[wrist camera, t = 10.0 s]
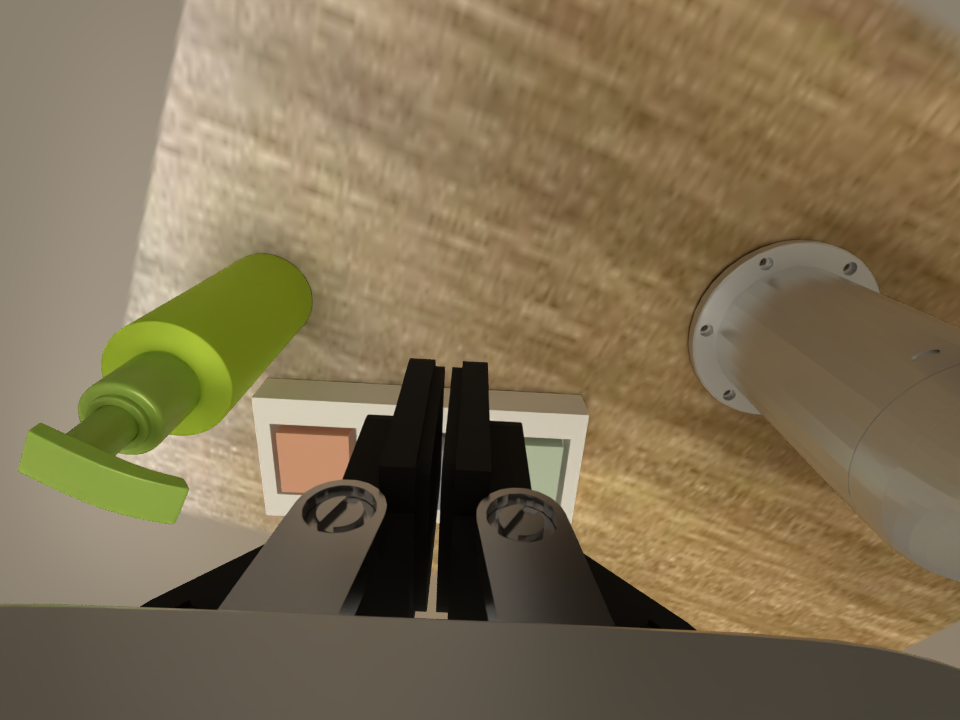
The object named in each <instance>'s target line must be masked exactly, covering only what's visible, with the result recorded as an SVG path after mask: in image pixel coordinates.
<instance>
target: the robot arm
mask: <svg viewBox="0 0 960 720" xmlns="http://www.w3.org/2000/svg"><path fill="white" fill-rule="evenodd" d="M762 259H763V261H762V263H760V261H761V260H762ZM759 263H760V264H759ZM704 325H705V327H704V328H703V329H701V328H702V327H703V326H704ZM688 347H689V355H690V361H691V364H692V366H693V369H694V372H695V374H696V376H697V377H698V379H699V380H700V382H701V383H702V385H703V386H704V387H705V388H706V389H707V390H708V392H709V393H710V394H711V395H712V396H713V397H714V398H716V399H717V400H718V401H719V402H721V403H722V404H724V405H726V406H728V407H730V408H732V409H735V410H737V411H740V412H745V413H749V414H754V415H762V416H763V417H764V418H765V419H766V420H767V421H768V422H769V423H770V424H771V425H772V426H773V427H774V428H775V429H776V430H777V431H778V432H779V433H780V434H781V435H782V436H783V437H784V438H785V439H786V440H787V442H788V443H789V444H790V445H791V446H792V447H793V448H794V449H795V450H796V451H797V452H798V453H799V454H800V455H801V456H802V457H803V458H804V459H805V460H806V461H807V462H808V463H809V464H810V465H811V467H812V468H813V469H814V470H815V471H816V472H817V473H818V474H819V475H820V476H821V477H822V478H823V479H824V480H825V481H826V482H827V483H828V484H829V485H830V486H831V487H832V488H833V489H834V490H835V491H836V493H837V494H838V495H839V496H840V497H841V498H842V499H843V500H844V501H845V502H846V503H847V504H848V505H849V506H850V507H851V508H852V509H853V510H854V511H855V512H856V513H857V514H858V515H859V516H860V517H861V519H862V520H863V521H864V522H866V523H867V524H868V525H869V526H870V527H871V528H872V529H873V530H874V531H875V532H876V533H877V535H878V536H879V537H880V538H881V539H882V540H884V541H885V542H886V543H887V544H888V545H889V546H890V547H891V548H893V549H894V550H895V551H896V552H898V553H899V554H901V555H902V556H904V557H905V558H906V559H908V560H909V561H911V562H913V563H915V564H916V565H918V566H920V567H922V568H924V569H926V570H928V571H930V572H932V573H935V574H937V575H940V576H943V577H946V578H949V579H952V580H955V581H958V582H960V328H959V327H956V326H954V325H952V324H949V323H947V322H945V321H942V320H940V319H938V318H936V317H933V316H931V315H929V314H926V313H924V312H922V311H919V310H917V309H915V308H912V307H910V306H908V305H905V304H903V303H901V302H898V301H896V300H894V299H891V298H889V297H887V296H885V295H882V294H880V289H879V286H878V284H877V282H876V280H875V277H874V275H873V273H872V272H871V271H870V270H869V268H868V267H867V266H866V265H865V264H864V263H863V261H862V260H860V259H859V258H857V257H856V256H855V255H853V254H852V253H850V252H849V251H847V250H844V249H842V248H839V247H837V246H834V245H831V244H828V243H824V242H820V241H816V240H800V239H798V240H790V241H783V242H778V243H774V244H771V245H768V246H765V247H762V248H759V249H757V250H755V251H753V252H751V253H749V254H747V255H745V256H743V257H742V258H741V259H739V260H738V261H736V262H735V263H734V264H732V265H731V266H729V267H728V268H727V269H726V270H725V271H724V272H723V273H722V274H721V275H720V276H719V277H718V278H717V279H716V280H715V281H714V282H713V283H712V284H711V286H710V287H709V288H708V290H707V291H706V292H705V294H704V295H703V297H702V298H701V300H700V302H699V304H698V306H697V308H696V310H695V313H694V316H693V319H692V323H691V326H690V330H689V342H688ZM444 379H445V367H439V366H436V362H435V360H431V359H413V358H410V360H409V363H408V367H407V370H406V373H405V377H404V380H403V384H402V387H401V391H400V394H399V397H398V401H397V404H396V408H395V411H394V415H393V416H391V415H372V414H369V415H367V416H366V418H365V421H364V424H363V426H362V429H361V431H360V434H359V437H358V439H357V442H356V445H355V447H354V450H353V452H352V455H351V458H350V460H349V463H348V466H347V468H346V471H345V473H344V476H343V479H342V480H336V481H329V482H326V483H323V484H320V485H317V486H315V487H313V488H311V489H310V490H308V491H306V492H305V493H304V494H303V495H302V496H301V497H300V498H299V499H298V500H297V501H296V502H295V503H294V505H293V506H292V507H291V509H290V510H289V511H288V513H287V514H286V516H285V517H284V518H283V520H282V521H281V522H280V524H279V525H278V527H277V528H276V529H275V531H274V532H273V534H272V535H271V536H270V538H269V539H268V540H267V542H266V543H265V544H264V545H262V546H260V547H258V548H256V549H254V550H252V551H250V552H248V553H246V554H244V555H242V556H240V557H238V558H236V559H234V560H232V561H230V562H228V563H225V564H224V565H221V566H219V567H218V568H215V569H213V570H211V571H209V572H207V573H205V574H203V575H201V576H199V577H197V578H195V579H193V580H191V581H189V582H187V583H185V584H183V585H181V586H179V587H177V588H175V589H173V590H170V591H168V592H166V593H165V594H162V595H160V596H158V597H156V598H154V599H152V600H150V601H149V602H147V603H145V604H144V605H142V606H140V607H123V606H96V605H95V606H94V605H68V604H0V720H960V669H959V668H956V667H953V666H951V665H947V664H944V663H942V662H939V661H936V660H932V659H929V658H924V657H920V656H916V655H912V654H908V653H904V652H900V651H896V650H891V649H887V648H883V647H878V646H871V645H865V644H858V643H852V642H845V641H839V640H829V639H816V638H804V637H791V636H779V635H766V634H754V633H736V632H715V631H697V630H696V629H694V628H693V627H692V626H691V625H690V624H688V623H687V622H686V621H684V620H683V619H681V618H680V617H678V616H677V615H675V614H674V613H672V612H671V611H669V610H668V609H666V608H665V607H663V606H662V605H660V604H659V603H657V602H656V601H654V600H653V599H651V598H650V597H648V596H647V595H645V594H644V593H642V592H641V591H639V590H638V589H636V588H635V587H633V586H632V585H630V584H629V583H627V582H626V581H624V580H623V579H621V578H620V577H618V576H617V575H615V574H614V573H612V572H611V571H609V570H608V569H606V568H605V567H603V566H602V565H600V564H599V563H597V562H596V561H594V560H593V559H591V558H590V557H588V556H587V555H585V554H584V553H583V551H582V549H581V547H580V544H579V542H578V540H577V538H576V535H575V533H574V531H573V529H572V526H571V524H570V522H569V519H568V517H567V515H566V513H565V512H564V510H563V509H562V507H561V506H560V505H559V504H558V503H557V502H556V501H554V500H553V499H552V498H551V497H549V496H547V495H545V494H543V493H541V492H538V491H534V490H532V488H531V481H530V474H529V467H528V460H527V453H526V446H525V439H524V432H523V426H522V423H521V422H507V421H490V412H489V384H488V363H486V362H468V361H463V367H462V368H457V367H453V368H452V378H451V387H450V396H449V406H448V415H447V424H446V434H445V443H444V452H443V462H442V476H441V458H442V432H443V405H444ZM440 480H441V497H440V524H439V550H438V576H437V603H436V612H446V613H448V619H426V618H414V616H415V611H424V612H426V611H427V604H428V594H429V585H430V576H431V566H432V557H433V548H434V538H435V529H436V519H437V510H438V501H439V491H440Z"/></svg>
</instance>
